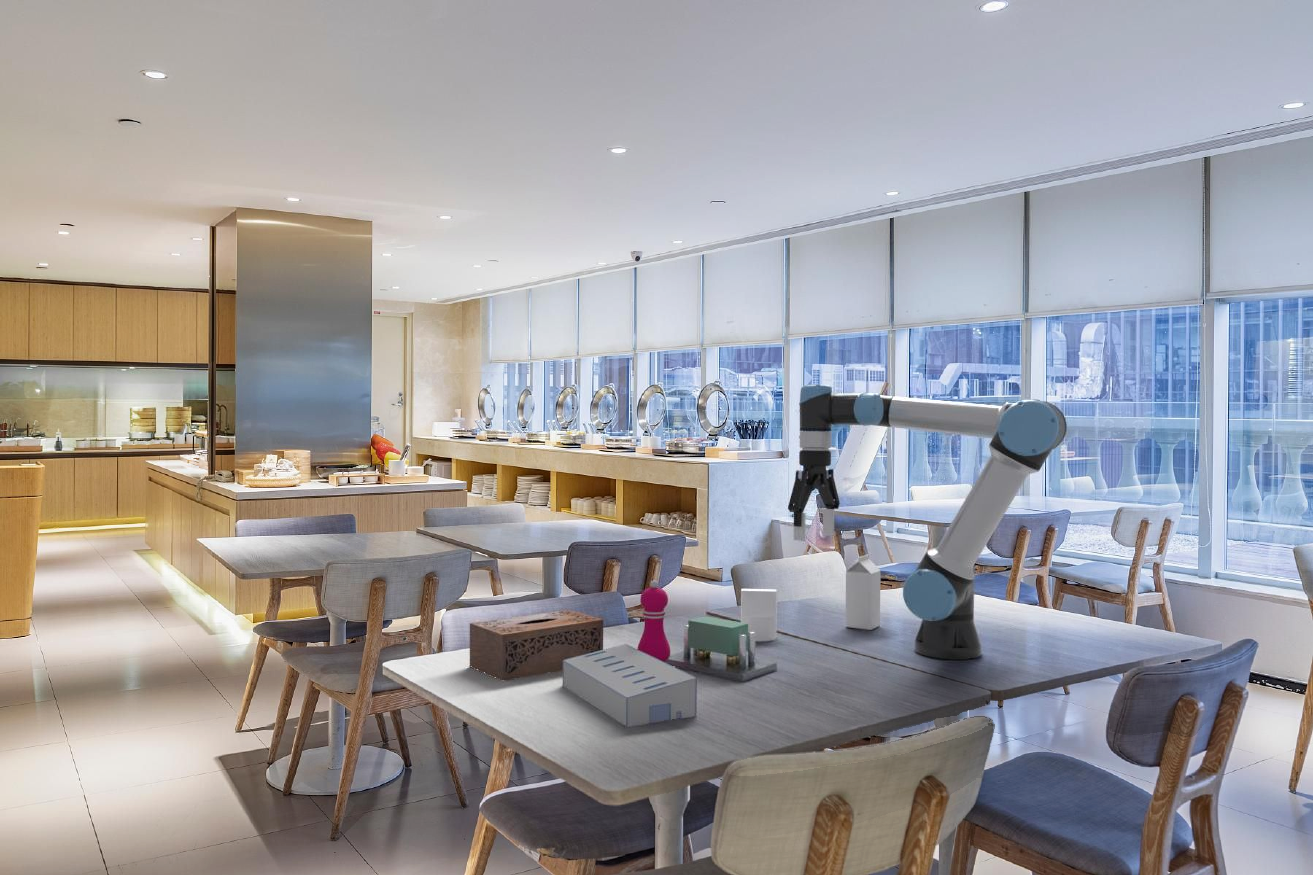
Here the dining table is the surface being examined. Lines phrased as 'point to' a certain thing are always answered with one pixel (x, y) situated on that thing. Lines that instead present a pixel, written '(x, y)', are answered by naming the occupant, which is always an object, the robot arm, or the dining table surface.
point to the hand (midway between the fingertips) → (814, 538)
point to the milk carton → (863, 594)
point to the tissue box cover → (532, 643)
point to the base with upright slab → (760, 612)
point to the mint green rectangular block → (716, 635)
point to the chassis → (723, 660)
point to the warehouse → (631, 685)
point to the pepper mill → (654, 623)
